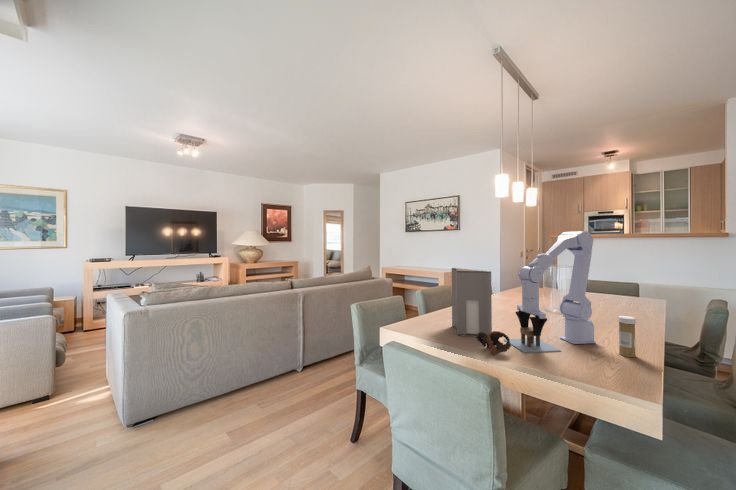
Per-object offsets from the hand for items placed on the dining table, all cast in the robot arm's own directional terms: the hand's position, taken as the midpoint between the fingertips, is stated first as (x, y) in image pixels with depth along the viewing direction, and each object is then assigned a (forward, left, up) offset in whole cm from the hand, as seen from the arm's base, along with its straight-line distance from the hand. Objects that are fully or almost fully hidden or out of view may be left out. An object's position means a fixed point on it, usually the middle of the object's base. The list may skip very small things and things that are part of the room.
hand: (530, 332), depth 115 cm
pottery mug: (+17, +3, -5) cm, 18 cm away
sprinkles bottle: (-27, +13, -5) cm, 30 cm away
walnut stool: (0, 0, -5) cm, 5 cm away
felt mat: (0, 0, -5) cm, 5 cm away
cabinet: (+19, -18, -5) cm, 27 cm away
